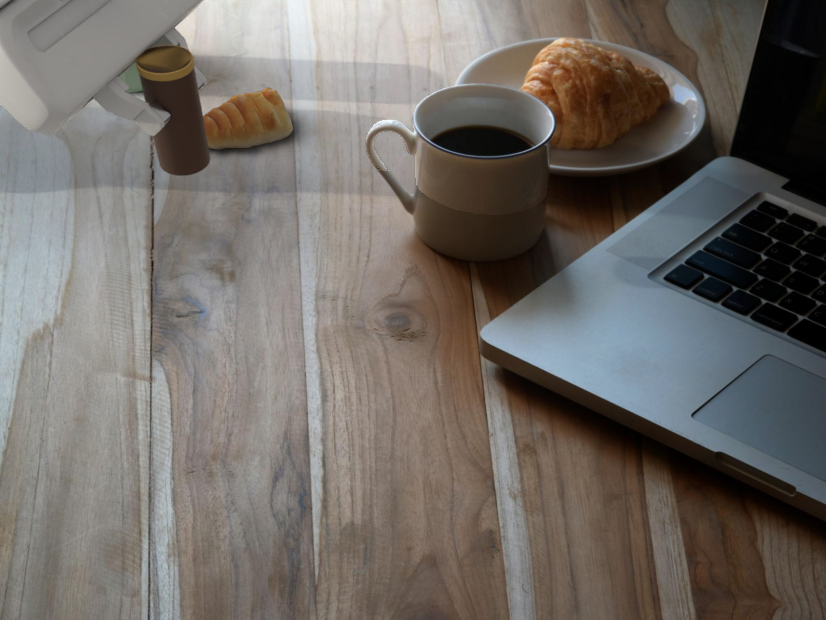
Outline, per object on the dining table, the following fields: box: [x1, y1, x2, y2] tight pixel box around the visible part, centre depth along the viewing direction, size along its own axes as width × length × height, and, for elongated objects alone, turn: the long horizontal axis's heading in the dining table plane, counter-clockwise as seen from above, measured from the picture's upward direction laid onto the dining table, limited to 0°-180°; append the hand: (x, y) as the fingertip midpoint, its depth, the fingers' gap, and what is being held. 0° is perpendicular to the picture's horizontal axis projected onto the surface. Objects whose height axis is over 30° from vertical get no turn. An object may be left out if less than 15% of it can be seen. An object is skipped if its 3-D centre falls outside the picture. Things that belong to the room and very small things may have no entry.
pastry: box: [203, 86, 294, 150], centre depth 93 cm, size 9×7×4 cm
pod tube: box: [136, 45, 211, 177], centre depth 71 cm, size 4×4×9 cm
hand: (181, 109), depth 71 cm, fingers closed on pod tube, 4 cm apart
